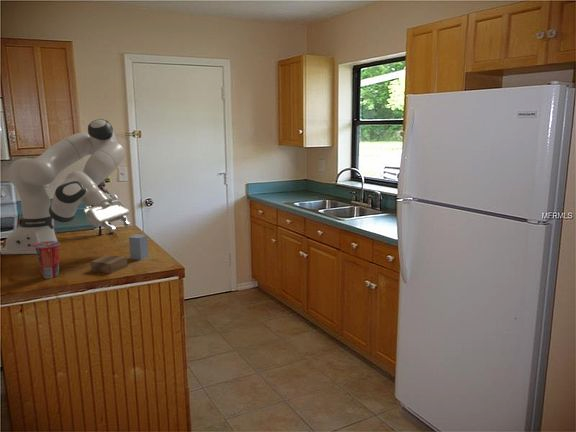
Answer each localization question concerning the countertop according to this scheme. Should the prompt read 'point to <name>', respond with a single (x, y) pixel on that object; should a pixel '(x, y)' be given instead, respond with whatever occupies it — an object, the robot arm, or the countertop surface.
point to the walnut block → (109, 264)
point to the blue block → (138, 247)
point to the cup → (48, 258)
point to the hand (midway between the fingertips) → (121, 228)
